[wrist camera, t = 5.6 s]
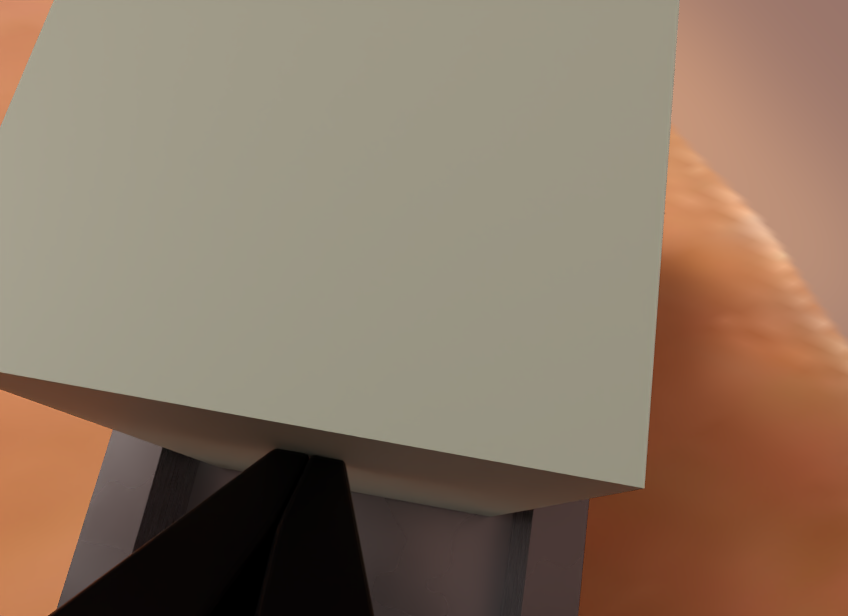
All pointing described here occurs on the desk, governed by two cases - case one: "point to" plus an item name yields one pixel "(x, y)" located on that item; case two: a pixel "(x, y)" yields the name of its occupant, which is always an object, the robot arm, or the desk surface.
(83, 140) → the block
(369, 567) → the steel chute
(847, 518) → the desk surface
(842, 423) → the desk surface
